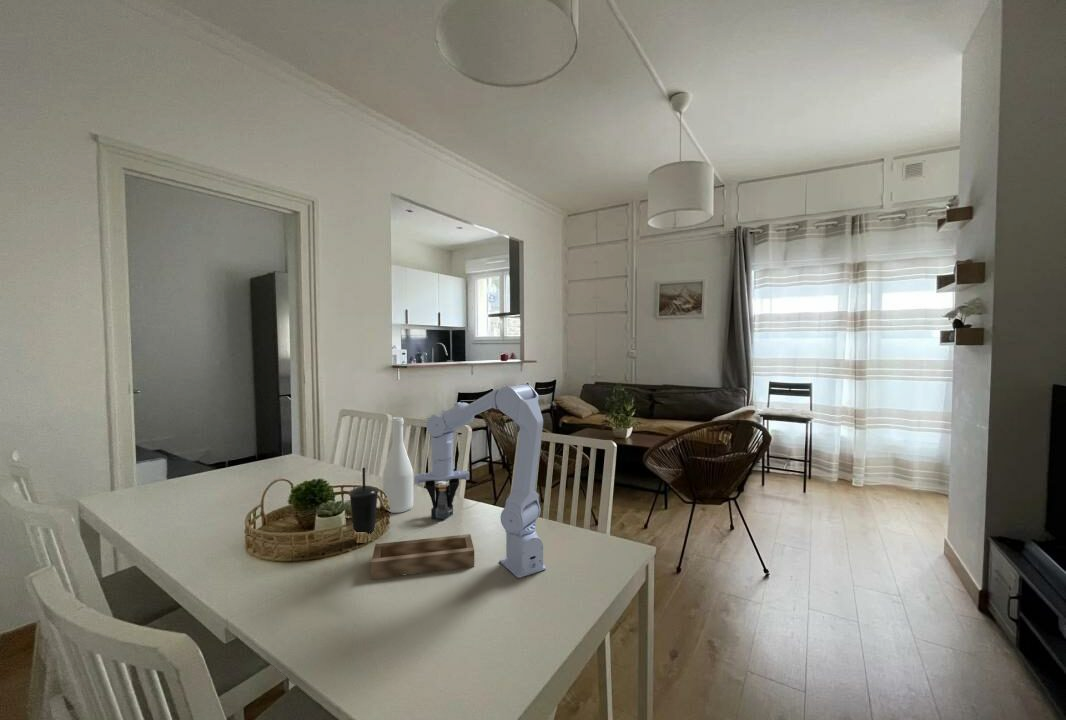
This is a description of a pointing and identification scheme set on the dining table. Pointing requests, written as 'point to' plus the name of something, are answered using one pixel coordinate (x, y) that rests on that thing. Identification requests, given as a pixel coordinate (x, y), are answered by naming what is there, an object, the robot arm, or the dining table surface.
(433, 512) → the watch
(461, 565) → the trough
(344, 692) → the dining table surface
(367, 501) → the drinking cup
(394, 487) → the wine bottle
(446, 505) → the battery cell
